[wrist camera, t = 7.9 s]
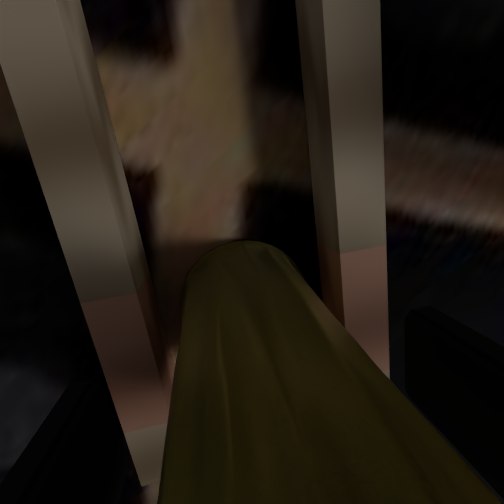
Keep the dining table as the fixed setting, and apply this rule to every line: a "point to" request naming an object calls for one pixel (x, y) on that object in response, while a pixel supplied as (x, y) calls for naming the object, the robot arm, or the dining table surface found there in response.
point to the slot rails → (121, 209)
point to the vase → (290, 401)
